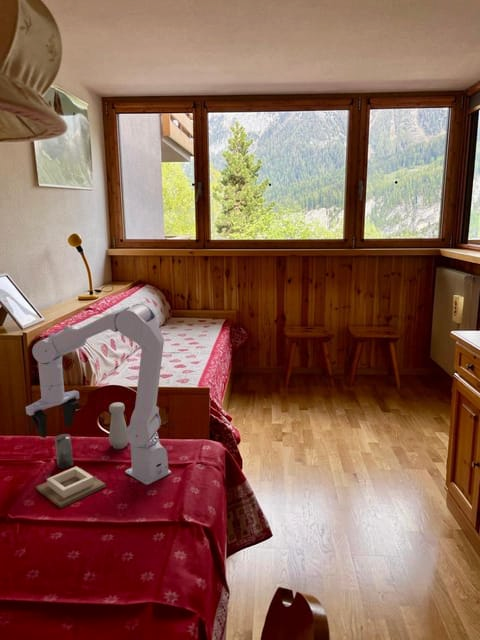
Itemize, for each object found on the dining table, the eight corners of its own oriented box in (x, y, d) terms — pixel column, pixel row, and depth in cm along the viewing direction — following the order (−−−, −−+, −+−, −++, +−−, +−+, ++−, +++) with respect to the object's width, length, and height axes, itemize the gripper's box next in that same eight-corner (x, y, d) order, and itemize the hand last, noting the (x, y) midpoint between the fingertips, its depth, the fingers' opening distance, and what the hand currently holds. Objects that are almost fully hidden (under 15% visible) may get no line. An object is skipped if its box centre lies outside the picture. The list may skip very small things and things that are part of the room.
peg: (76, 464, 136) (73, 436, 134) (62, 469, 133) (59, 442, 131) (68, 459, 139) (65, 432, 137) (54, 464, 136) (51, 437, 134)
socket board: (105, 486, 125) (104, 476, 124) (60, 508, 116) (59, 497, 115) (80, 470, 133) (79, 460, 132) (36, 489, 124) (35, 479, 123)
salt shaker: (127, 450, 143) (124, 407, 140) (107, 450, 143) (103, 408, 140) (131, 441, 149) (129, 400, 146) (112, 441, 149) (109, 400, 146)
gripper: (66, 372, 138) (70, 418, 141) (17, 387, 127) (22, 437, 130) (82, 377, 134) (86, 424, 137) (33, 393, 123) (37, 444, 126)
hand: (56, 431), depth 133 cm, fingers open, 7 cm apart
